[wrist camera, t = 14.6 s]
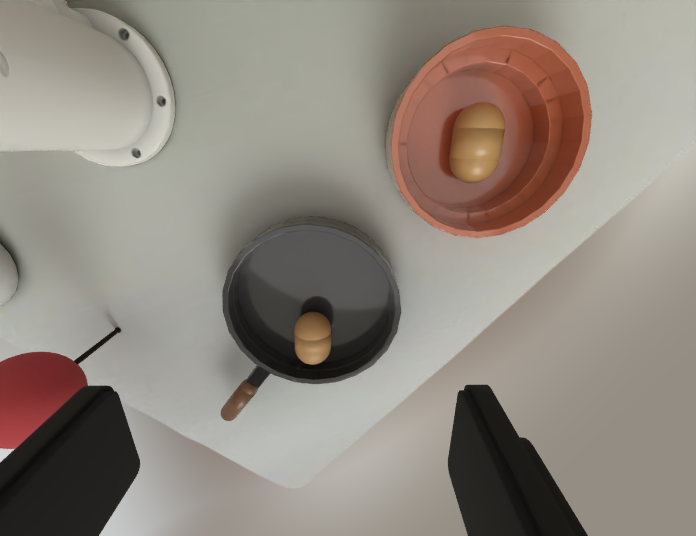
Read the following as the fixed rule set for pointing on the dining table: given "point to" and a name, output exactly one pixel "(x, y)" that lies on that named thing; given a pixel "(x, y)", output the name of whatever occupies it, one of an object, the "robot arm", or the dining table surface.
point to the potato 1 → (312, 338)
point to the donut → (7, 276)
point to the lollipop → (37, 390)
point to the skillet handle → (244, 393)
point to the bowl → (519, 138)
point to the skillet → (312, 298)
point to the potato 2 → (477, 142)
